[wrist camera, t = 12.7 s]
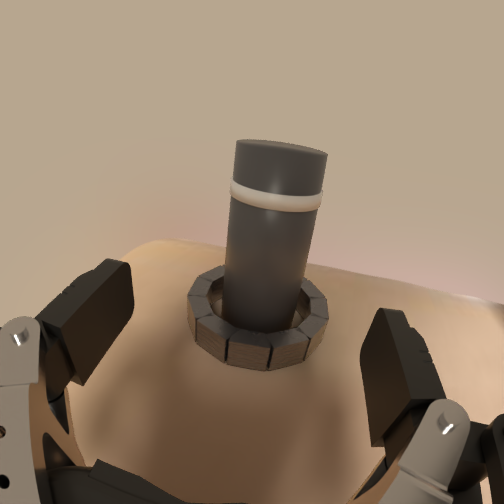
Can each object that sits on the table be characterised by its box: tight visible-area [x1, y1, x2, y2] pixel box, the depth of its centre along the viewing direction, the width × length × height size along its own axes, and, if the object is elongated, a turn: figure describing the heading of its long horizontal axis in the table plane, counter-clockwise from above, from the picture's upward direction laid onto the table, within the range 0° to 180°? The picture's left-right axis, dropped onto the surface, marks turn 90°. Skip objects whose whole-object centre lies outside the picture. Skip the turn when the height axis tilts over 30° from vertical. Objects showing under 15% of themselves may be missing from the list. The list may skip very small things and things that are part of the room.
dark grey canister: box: [221, 139, 328, 334], centre depth 18 cm, size 5×5×12 cm
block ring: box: [187, 265, 329, 371], centre depth 21 cm, size 9×9×2 cm
